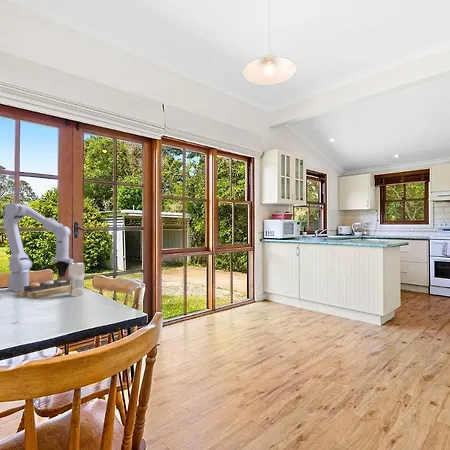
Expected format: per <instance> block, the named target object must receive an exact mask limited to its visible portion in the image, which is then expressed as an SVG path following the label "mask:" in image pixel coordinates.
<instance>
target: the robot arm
mask: <svg viewBox="0 0 450 450" xmlns="http://www.w3.org/2000/svg"><path fill="white" fill-rule="evenodd" d="M3 211H4V217H3V220H2V221H3V226H4V230H5V232H6V233H5V234H6V238H7V242H8V246H9V249H10V254H11V256H10V257H9V259H8V260H9V261H8V262H9V265H8V268H9V271H10V272H11V273H10V274H9V275H8V277H7V278H8V279H7V289H6V291H9V292H15V293H18V290H21V289H24V286H30V270H31V268H32V267H33V262H32V260H31V259H30V257H29V255H28V254H27V253H26V252H25V250H24V249H25V248H24V246H23V242H22V237H21V234H20V230H19V226H18V222H19V221H21V220H22V219H24V218H25V217H27V216H28V217H30V218H32V219H34V220H35V221H37V222H38V223H40V224H42V227H43V229H45V230H47V231H49V232H50V233H52V234H54V236H55V238H56V239H55V241H56V242H55V257H51V260H50V261H51V262H53V263H54V266H55V268H56V270H57V272H58V277H59V278H62V277H66V273H67V270H68V269H69V264H70V263H74V259H73V258H71V257H69V253H70V252H69V251H70V248H69V247H70V245H69V244H70V240H69V238H70V236H71V234H72V230H71V228H70V227H68V226H67V225H65V226H63V225H64V224H63V223H59V222H58V221H57V220H56V218H53V217H52V218H51V217H46V216H44V215H42V214H41V213H39V212H37V211H36V210H35V209H33V208H32V207H30V206H28V205H27V204H24V203H15V202H10V203H8V204H7V205H6V206H5V207H4V209H3Z"/></svg>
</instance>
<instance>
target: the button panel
mask: <svg viewBox="0 0 450 450" xmlns="http://www.w3.org/2000/svg"><path fill="white" fill-rule="evenodd" d="M53 281H54V280H53ZM58 281H66V282H58ZM66 293H70V281H69V279H68V280H66V279H61V280H60V279H59V280H56V281H54V284H49V285H45V284H44V283H43V282H42V283H40V286H38V287H30V285H29V286H24V289H21V290H18V292H17V296H20V297H25V298H30V299H41V298H46V297H51V296H56V295H61V294H66Z"/></svg>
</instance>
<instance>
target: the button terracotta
mask: <svg viewBox="0 0 450 450" xmlns="http://www.w3.org/2000/svg"><path fill="white" fill-rule="evenodd" d="M40 284H41V282H31V283H29V286H30V287H38V286H40Z"/></svg>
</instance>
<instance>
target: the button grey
mask: <svg viewBox="0 0 450 450" xmlns="http://www.w3.org/2000/svg"><path fill="white" fill-rule="evenodd" d="M43 282H44V284H45V285H49V284H54V280H45V281H43Z"/></svg>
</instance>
